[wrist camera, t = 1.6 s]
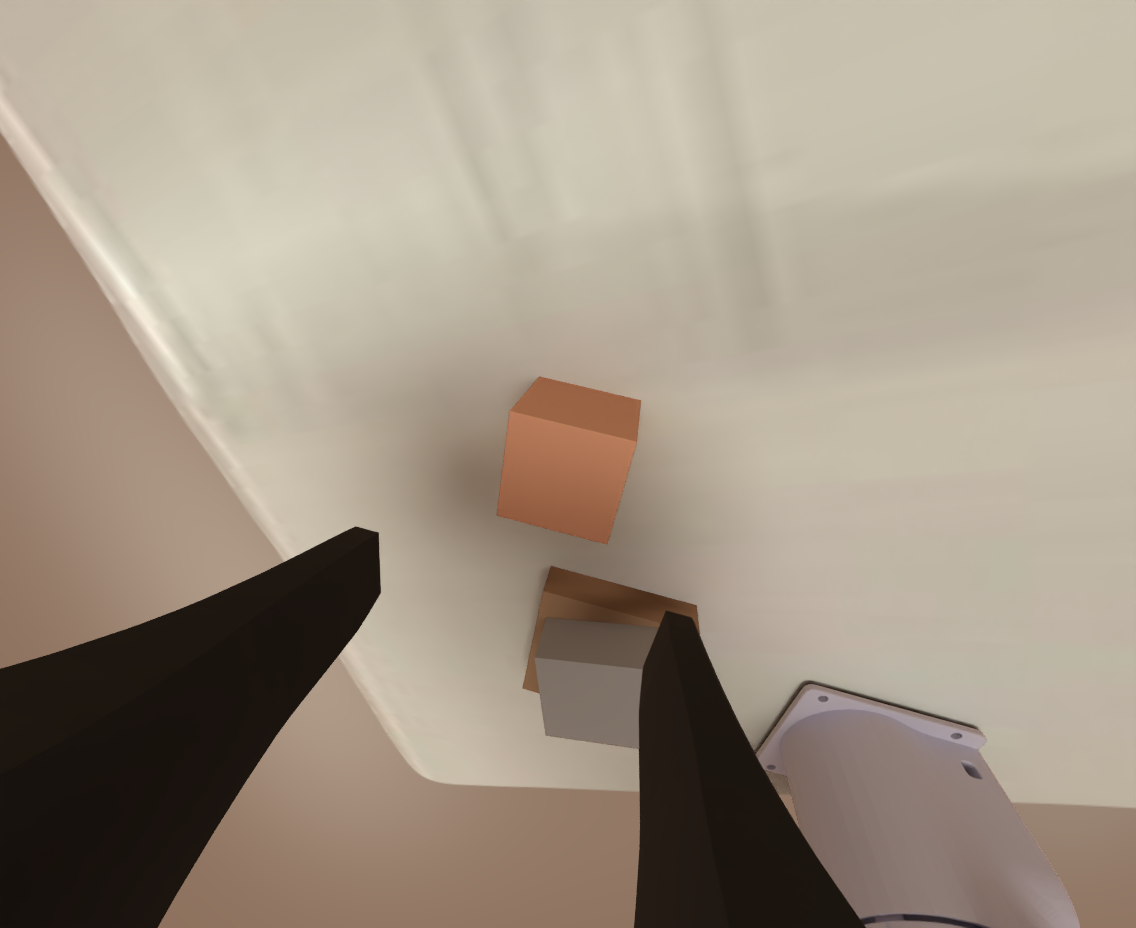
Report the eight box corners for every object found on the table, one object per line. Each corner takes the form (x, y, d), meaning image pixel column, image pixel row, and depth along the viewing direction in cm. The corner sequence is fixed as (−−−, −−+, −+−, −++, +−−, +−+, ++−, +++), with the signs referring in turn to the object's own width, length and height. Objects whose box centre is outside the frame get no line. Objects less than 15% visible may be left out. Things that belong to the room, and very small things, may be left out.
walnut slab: (695, 597, 24) (699, 634, 21) (654, 688, 27) (654, 727, 25) (553, 559, 24) (543, 590, 22) (532, 653, 28) (522, 688, 26)
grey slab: (663, 628, 22) (664, 671, 19) (660, 705, 24) (660, 751, 22) (546, 617, 23) (534, 657, 20) (555, 692, 25) (545, 735, 23)
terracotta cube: (640, 399, 19) (636, 441, 15) (616, 487, 21) (607, 544, 17) (540, 376, 19) (510, 410, 15) (526, 464, 21) (496, 515, 17)
